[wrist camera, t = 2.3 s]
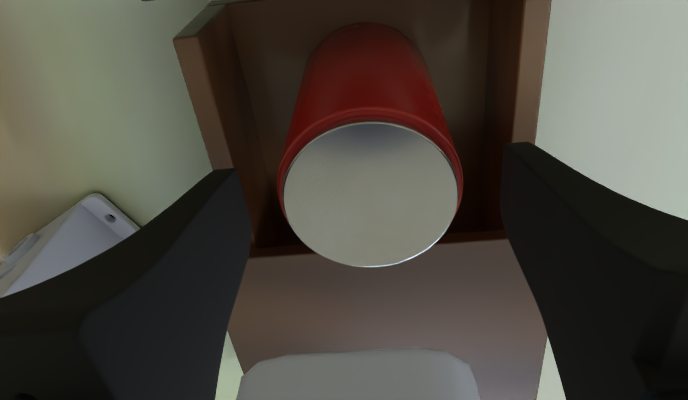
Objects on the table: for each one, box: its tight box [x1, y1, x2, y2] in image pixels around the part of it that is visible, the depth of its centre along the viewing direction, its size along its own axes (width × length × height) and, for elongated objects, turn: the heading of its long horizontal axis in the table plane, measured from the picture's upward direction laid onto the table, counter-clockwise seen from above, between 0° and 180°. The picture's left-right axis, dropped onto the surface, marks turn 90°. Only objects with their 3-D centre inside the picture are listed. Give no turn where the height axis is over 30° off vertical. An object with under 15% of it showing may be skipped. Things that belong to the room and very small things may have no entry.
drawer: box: [142, 0, 551, 249], centre depth 17 cm, size 17×12×5 cm
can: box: [277, 23, 463, 267], centre depth 16 cm, size 5×5×8 cm
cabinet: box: [227, 229, 548, 400], centre depth 24 cm, size 14×13×7 cm
